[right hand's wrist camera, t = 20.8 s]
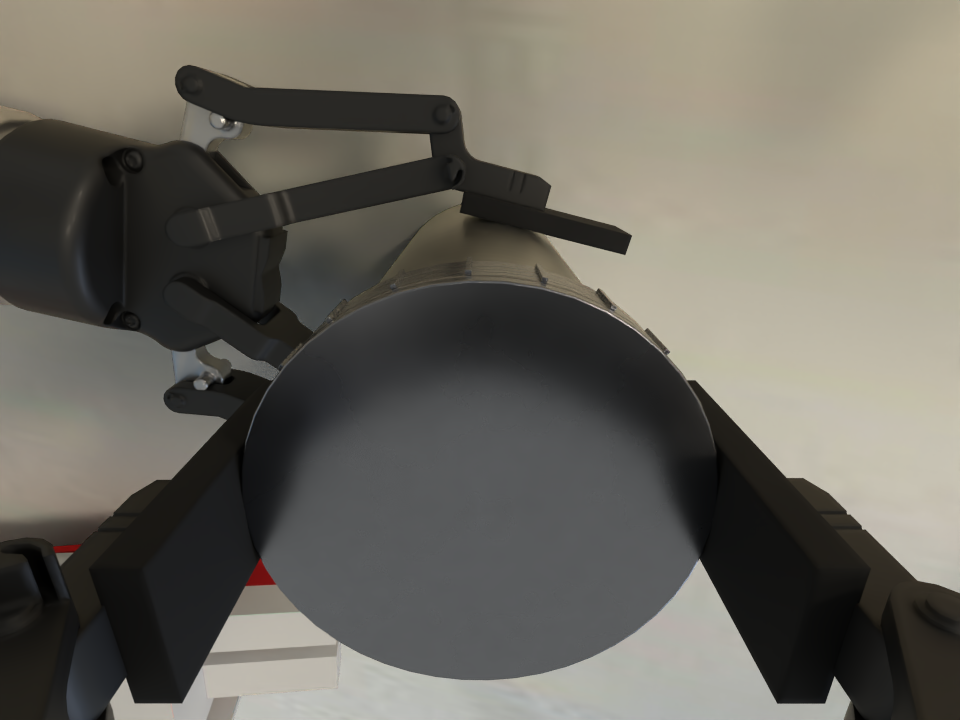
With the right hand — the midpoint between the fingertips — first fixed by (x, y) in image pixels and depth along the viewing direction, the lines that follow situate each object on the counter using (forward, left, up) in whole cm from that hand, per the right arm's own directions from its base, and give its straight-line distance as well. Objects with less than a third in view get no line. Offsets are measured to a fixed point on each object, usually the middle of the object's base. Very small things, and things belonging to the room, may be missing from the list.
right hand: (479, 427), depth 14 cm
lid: (0, 0, +3) cm, 3 cm away
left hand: (-3, +3, -9) cm, 11 cm away
